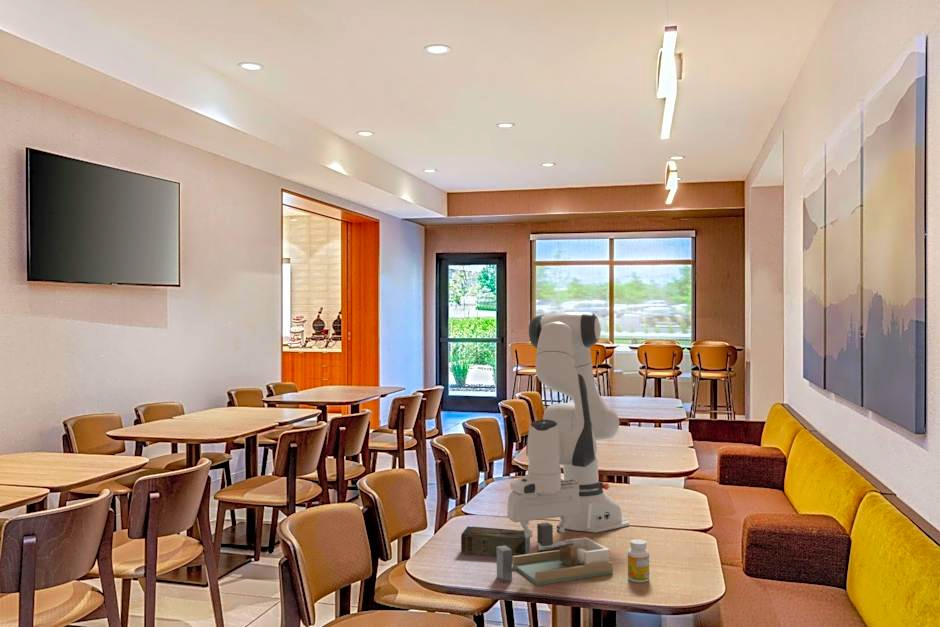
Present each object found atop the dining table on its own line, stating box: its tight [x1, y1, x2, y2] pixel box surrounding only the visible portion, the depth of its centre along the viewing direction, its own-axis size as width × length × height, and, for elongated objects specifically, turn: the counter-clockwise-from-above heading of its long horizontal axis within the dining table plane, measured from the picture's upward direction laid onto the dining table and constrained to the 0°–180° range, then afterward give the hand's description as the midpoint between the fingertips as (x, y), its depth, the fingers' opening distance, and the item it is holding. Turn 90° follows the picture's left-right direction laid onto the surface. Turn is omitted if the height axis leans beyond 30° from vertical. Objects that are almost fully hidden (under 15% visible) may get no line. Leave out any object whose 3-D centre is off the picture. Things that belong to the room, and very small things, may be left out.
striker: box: [536, 522, 578, 567], centre depth 205 cm, size 10×6×11 cm, turn 111°
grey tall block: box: [496, 545, 513, 583], centre depth 199 cm, size 2×4×8 cm, turn 21°
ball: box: [577, 549, 586, 564], centre depth 208 cm, size 4×4×4 cm
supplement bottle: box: [627, 538, 650, 583], centre depth 198 cm, size 5×5×10 cm
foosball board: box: [512, 536, 614, 586], centre depth 206 cm, size 22×15×6 cm
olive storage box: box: [460, 525, 531, 558], centre depth 222 cm, size 8×19×7 cm, turn 77°
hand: (544, 534), depth 204 cm, fingers open, 8 cm apart
